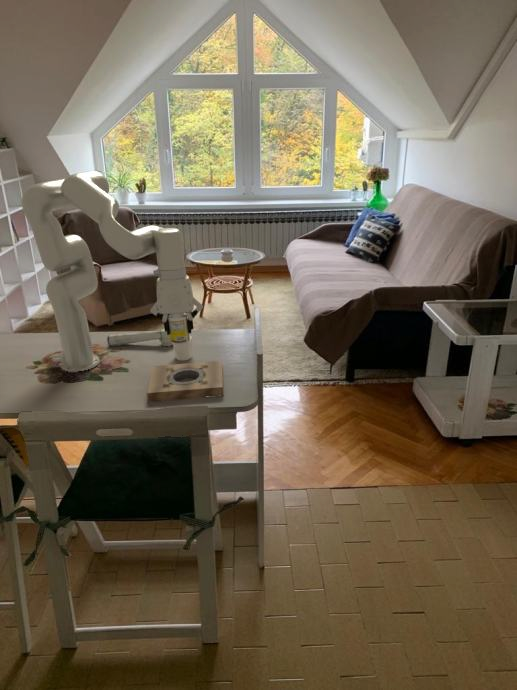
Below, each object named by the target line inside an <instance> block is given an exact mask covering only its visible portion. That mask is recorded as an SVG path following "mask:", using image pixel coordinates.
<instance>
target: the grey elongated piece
mask: <svg viewBox="0 0 517 690" xmlns="http://www.w3.org/2000/svg"><path fill="white" fill-rule="evenodd" d="M156 340H158V341H159V342H160V343H161V346H162V347H166V346H168V347H171V346H173V343H172V342H171V336H170V335H167V331H166V332H165V329H164V328H163V329H161V330H151V331H140V332H129V333H119V332H117V333H116V334H110V335H108V336H107V339H106V342H107V345H108V346H109V347H112V346H119V347H120V346H122V345H129V344H135V343H141V342H142V343H143V342H148V341H149V342H150V341H156Z"/></svg>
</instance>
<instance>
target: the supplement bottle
mask: <svg viewBox="0 0 517 690" xmlns="http://www.w3.org/2000/svg"><path fill="white" fill-rule="evenodd" d="M167 318H168V321H169V329H170V336H171V342H172V343H174V344H185V343H187V342H188V341H189V340H190V336H189V335H190V333H189V332H188V323H187V320H188V317H187V315H186V313H178V314H168V316H167Z"/></svg>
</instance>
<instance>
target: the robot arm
mask: <svg viewBox="0 0 517 690" xmlns="http://www.w3.org/2000/svg"><path fill="white" fill-rule="evenodd" d="M25 189H26V190H24V192H23V193H22V196H21V197H22V198H21V208H22V211H23V213H24V216H25V218H26V220H27V222H28V223H29V226H30V228H31V231H32V234H33V238H34V240H35V244H36V246H37V250H38V252H39V257H40V259H41V262H42V264H43V266H44V268H45V269H46V270H47V271H50V272H58V271H59V272H60V271H61V270H62V271H63V270H65V269H67V268H70V270H68V271H65V272H62V273H60V274H57V275H55V276H54V277H52V278H51V279H50V280H49V281H48V282H47V283H46V287H45V291H46V292H45V293H46V295H47V298H48V300H49V302H50V303H49V304H51V307H52V311H53V313H54V314H53V315H54V318H55V321H56V322H55V323H56V326H57V331H58V336H59V340H60V345H61V349H62V352H61V353H60V354H58V353H57V354H56V353H55V354H51V357H50V358H51V361H53V363H60V368H61V370H62V369H63V370H62V371H64V370H65V371H64V372H66V371H68V372H67V373H79V372H78V371H82V372H85V371H84V370H86V371H88V369H89V370H91V368H92V369H93V368H96V367H97V366H98V365H99V364H100V356H98V355H96V354H94V349H93V345H92V340H91V334H90V328H89V322H88V317H87V314H86V311H85V309H84V308H83V307H82V305H81V304H80V303H79V301H80V300H81V299H83V298H85V297H87V296H90V295H93V293H94V292H96V290H97V289H98V285H99V281H98V275H97V272H96V267H95V266H94V265H95V264H94V262H93V261H94V260H93V257H92V254H91V250H90V249H89V246H88V244H87V242H86V241H85V240H84V239H83V238H82V237H81V236H80V235H78V234H67V235H64V233H63V228H62V225H61V223H60V222H59V220H58V218H57V217H56V216H55V215H53V213H52V212H55V211H59V210H63V209H67V208H72V207H76V208H77V209H78V210H79V211H80V212H82V213H83V214H85V215H87V216H88V217H89V218H90V219H91V220H93V221H94V222H96V223H97V224H98V228H99V232H100V233H101V236H102V238H103V239H104V241H105V242H106V244H107V245H108V246H109V247H111V248H112V249H113V250H115V252H117V253H119V254H120V255H122V256H123V257H125V258H127V259H129V260H138V259H142V258H144V257H146V256H148V255H152V254H154V253H156V262H157V269H156V270H153V276H158V278H157V279H156V302H155V303H154V305H153V306H152V307H151V308H150V310H149V311H150V313H151V314H153V315H154V316H156V318H158V319H159V320H160V321H161V322H163V327H164V328H163V329H165V332H166V331H167V335H170V329H169V321H168V317H169V315H170V314H178V313H185V314H186V315H187V319H188V320H187V323H188V332H189V334H192V330H194V321H193V320H194V319H195V317H196V316H197V315H198V314H199V313H200V312H201V311H202V310H203V308H204V305H203V304H202V303H201V302H199V301H198V300H197V299H196V298H195V297H194V293H193V289H192V288H193V287H192V283H191V280H190V277H189V275H187V271H186V269H187V268H186V261H185V252H184V244H183V234H182V231H181V230H180V229H178V228H176V227H165V228H164V227H161V226H157V225H146V226H143V227H140V228H136V229H133V230H128V229H126V228H125V227H124V226H123V225H121V224H120V223H119V222H118V221H117V220H116V217H118V216H117V215H118V213H119V210H120V204H119V202H118V200H117V199H116V198H115V197H113V196H112V195H110V194H109V192H110V185H109V182H108V180H107V178H106V177H105V176H104V175H103V174H102V173H101V172H98V171H96V170H89V171H85V172H83V171H82V172H79V173H74V174H70V175H68V176H66V177H64V178H60V179H55V180H49V181H47V180H46V181H42V182H39V183H35V184H33V185H31V186H29V187H28V188H25ZM194 306H195V307H196V308H195V307H194Z"/></svg>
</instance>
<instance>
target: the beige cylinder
mask: <svg viewBox="0 0 517 690" xmlns="http://www.w3.org/2000/svg"><path fill="white" fill-rule="evenodd" d="M189 336H190V340H189V341H188V342H187V343H185V344H174V343H173V345H172V347H173V350H174V351H173V352H174V355H175V359H176V360H178V361H187V360H190V359H191V358H193V336H192V335H190V334H189Z"/></svg>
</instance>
